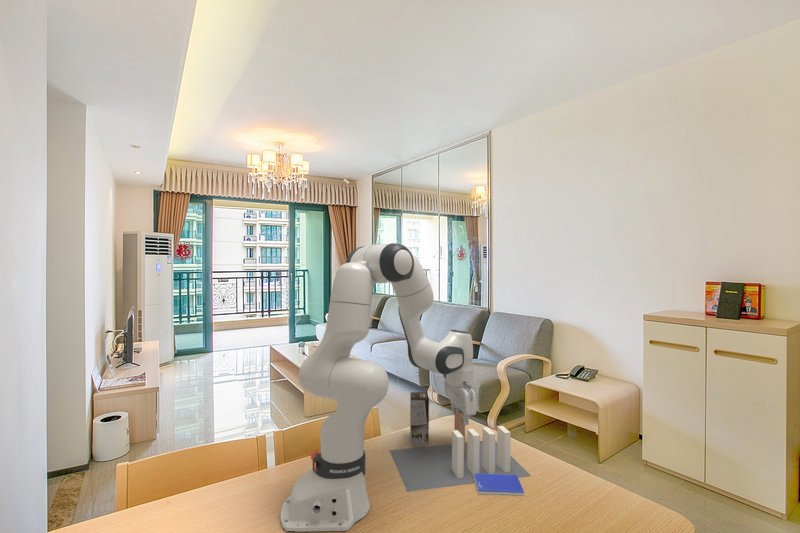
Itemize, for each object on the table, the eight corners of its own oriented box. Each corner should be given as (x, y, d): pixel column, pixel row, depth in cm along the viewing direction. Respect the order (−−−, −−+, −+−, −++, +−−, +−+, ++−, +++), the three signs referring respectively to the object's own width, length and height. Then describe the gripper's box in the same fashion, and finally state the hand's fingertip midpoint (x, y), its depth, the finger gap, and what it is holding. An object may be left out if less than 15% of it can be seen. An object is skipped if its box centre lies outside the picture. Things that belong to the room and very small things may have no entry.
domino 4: (504, 472, 121) (504, 432, 121) (497, 464, 126) (497, 426, 126) (510, 471, 122) (510, 432, 122) (502, 463, 127) (502, 425, 127)
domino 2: (473, 476, 119) (473, 435, 119) (467, 467, 124) (467, 429, 124) (479, 475, 120) (479, 435, 120) (472, 467, 125) (472, 428, 124)
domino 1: (457, 478, 118) (457, 437, 118) (451, 469, 123) (452, 430, 123) (463, 477, 119) (463, 436, 118) (457, 469, 123) (457, 430, 123)
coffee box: (429, 446, 140) (429, 399, 139) (410, 446, 140) (410, 399, 139) (427, 435, 149) (427, 391, 148) (410, 434, 149) (410, 391, 149)
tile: (459, 453, 133) (459, 417, 133) (454, 447, 138) (454, 412, 138) (464, 453, 134) (464, 417, 133) (459, 446, 138) (459, 411, 138)
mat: (407, 492, 111) (407, 491, 111) (389, 451, 136) (389, 450, 136) (531, 477, 120) (531, 476, 120) (494, 440, 144) (494, 439, 144)
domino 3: (489, 474, 120) (489, 434, 120) (482, 466, 125) (482, 427, 125) (494, 473, 121) (495, 433, 121) (487, 465, 126) (487, 427, 125)
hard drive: (478, 489, 110) (524, 491, 109) (473, 472, 118) (516, 474, 118) (478, 495, 110) (523, 496, 110) (473, 477, 118) (516, 479, 118)
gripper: (481, 386, 126) (481, 430, 127) (457, 369, 146) (458, 406, 147) (462, 388, 125) (462, 432, 125) (441, 370, 145) (441, 408, 145)
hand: (460, 418), depth 136 cm, fingers open, 8 cm apart
